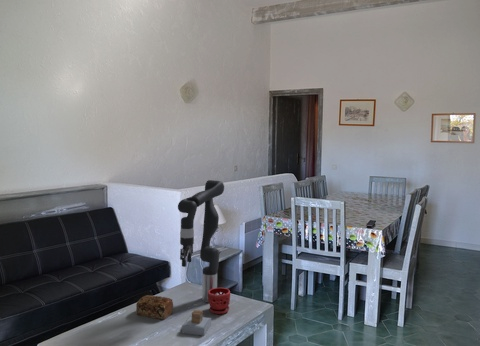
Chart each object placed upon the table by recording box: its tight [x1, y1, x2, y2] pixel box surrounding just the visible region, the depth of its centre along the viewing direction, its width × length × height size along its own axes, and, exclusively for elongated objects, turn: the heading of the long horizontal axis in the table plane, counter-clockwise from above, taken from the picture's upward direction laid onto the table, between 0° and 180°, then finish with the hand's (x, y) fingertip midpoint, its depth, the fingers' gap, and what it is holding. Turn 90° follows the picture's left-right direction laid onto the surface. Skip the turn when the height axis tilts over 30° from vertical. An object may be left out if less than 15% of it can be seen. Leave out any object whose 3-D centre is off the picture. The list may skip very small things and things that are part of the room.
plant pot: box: [208, 287, 231, 315], centre depth 229 cm, size 13×13×12 cm
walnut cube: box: [191, 309, 204, 324], centre depth 206 cm, size 4×4×5 cm
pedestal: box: [181, 315, 212, 337], centre depth 206 cm, size 12×12×4 cm
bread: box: [135, 294, 174, 320], centre depth 223 cm, size 19×11×10 cm, turn 70°
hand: (186, 264), depth 219 cm, fingers open, 8 cm apart
